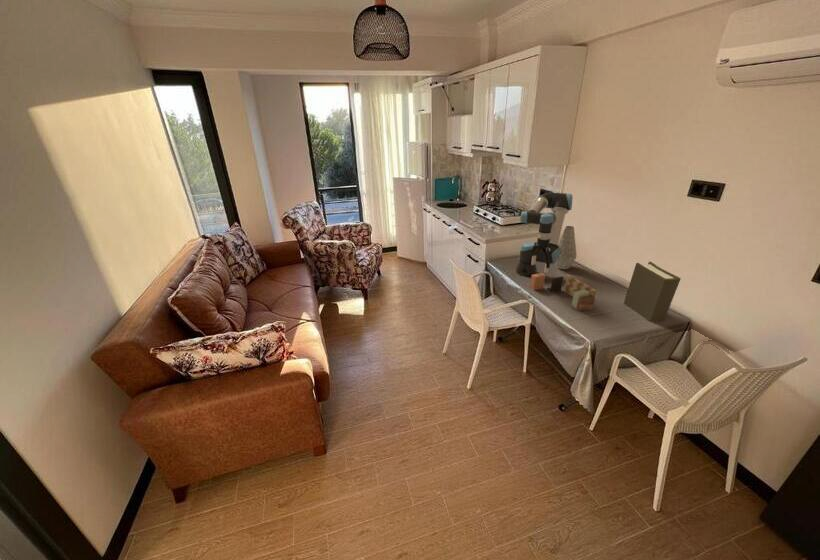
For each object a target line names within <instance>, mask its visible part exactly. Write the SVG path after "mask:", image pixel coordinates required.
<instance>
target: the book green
mask: <svg viewBox="0 0 820 560" xmlns="http://www.w3.org/2000/svg"><path fill="white" fill-rule="evenodd" d="M589 295H590V292H589V291H587V290H580V291H576V292H574V296H572V297H573V298H572V302H571V307H572V308H574V309H576V307H577V303H578V298H581V297H585V296H589Z"/></svg>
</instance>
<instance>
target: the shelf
mask: <svg viewBox="0 0 820 560" xmlns="http://www.w3.org/2000/svg"><path fill="white" fill-rule="evenodd" d="M580 290H587V291H589V292H590V295H589V296H585V297H581V298H578V303H577V307H576V308H575V310H576V311H578V312H583V311H584V312H585V311H589V310H593V308H594V305H595V299H596V295H597V294H596V292H597V289H596V288H595V289H594V287H591V286H590V285H588V284H586V283H584V282H582V281H581V280H578V279H577V278H576V277H573V276H571V275H570V274H566V275H565V280H564V285H563V292H565V293H567V295H570V296H571V297H573V296H574V292H576V291H580Z"/></svg>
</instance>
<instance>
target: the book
mask: <svg viewBox="0 0 820 560" xmlns="http://www.w3.org/2000/svg"><path fill="white" fill-rule="evenodd" d="M681 279H682V278H681V277H679V276H677V275H675V274H672V273H671V272H669V271H667V270H665V269H663V268H662V267H660V266H658V265H656V264H655V263H654V262H652V261H648V263H647V264H641V263H640V262H636V263H635V266H634V270H633V272H632V276H631V278H630V282H629V285H628V288H627V290H626V294H625V299H624V302H623V304H624V305H626V306H628V307H629V308H631V309H632V310H633V311H635V312H637V313H638V314H639V315H640V316H642V317H643V318H645V319H646V321H648V322H653V323H656V322H657V321H658V322H662V320H663V321H665V320H666V318H667V314H668V312H669V309H670V307H671V304H672V303H673V299H674V297H675V294H676V291H677V289H678V287H679V284H680V282H681ZM658 322H657V323H658Z"/></svg>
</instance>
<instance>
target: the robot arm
mask: <svg viewBox="0 0 820 560" xmlns="http://www.w3.org/2000/svg"><path fill="white" fill-rule="evenodd" d="M572 208H573V195H572V194H571V193H567V192H564V193H563V192H561V193H560V192H551V191H550V192H546V193H542V194H540V195H539V196H538V197H536V198H535V200H534V203H533V204H532V206H531V207H530V208H529V209H528V210H526V211H525V210H524V211H522V212H521V214H520V218H519V219H520V222H521V223H523V224H533V225H539V226H538V232H537V241H536V242H534V241H528V242H524V243H522V244H521V246H520V252H519V262H518V263H517V265H516V268H515V272H516V273H517V274H518V275H520V276H525V277H531V276H532V275H533V274H538V270H537V264H536V262H538V263H544V270H543V273H548V272H549V270H550V266H551V264H552V265H555V263H556V261H557V260H558V257H559V254H560V249H559V246H558V242H559V241H560V236H561V231H562V228H563V224H564V221H565V218H566V215H567V214H569V211H571V210H572ZM544 209H551V212H548V213H544V212H542V211H543V210H544Z"/></svg>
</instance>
